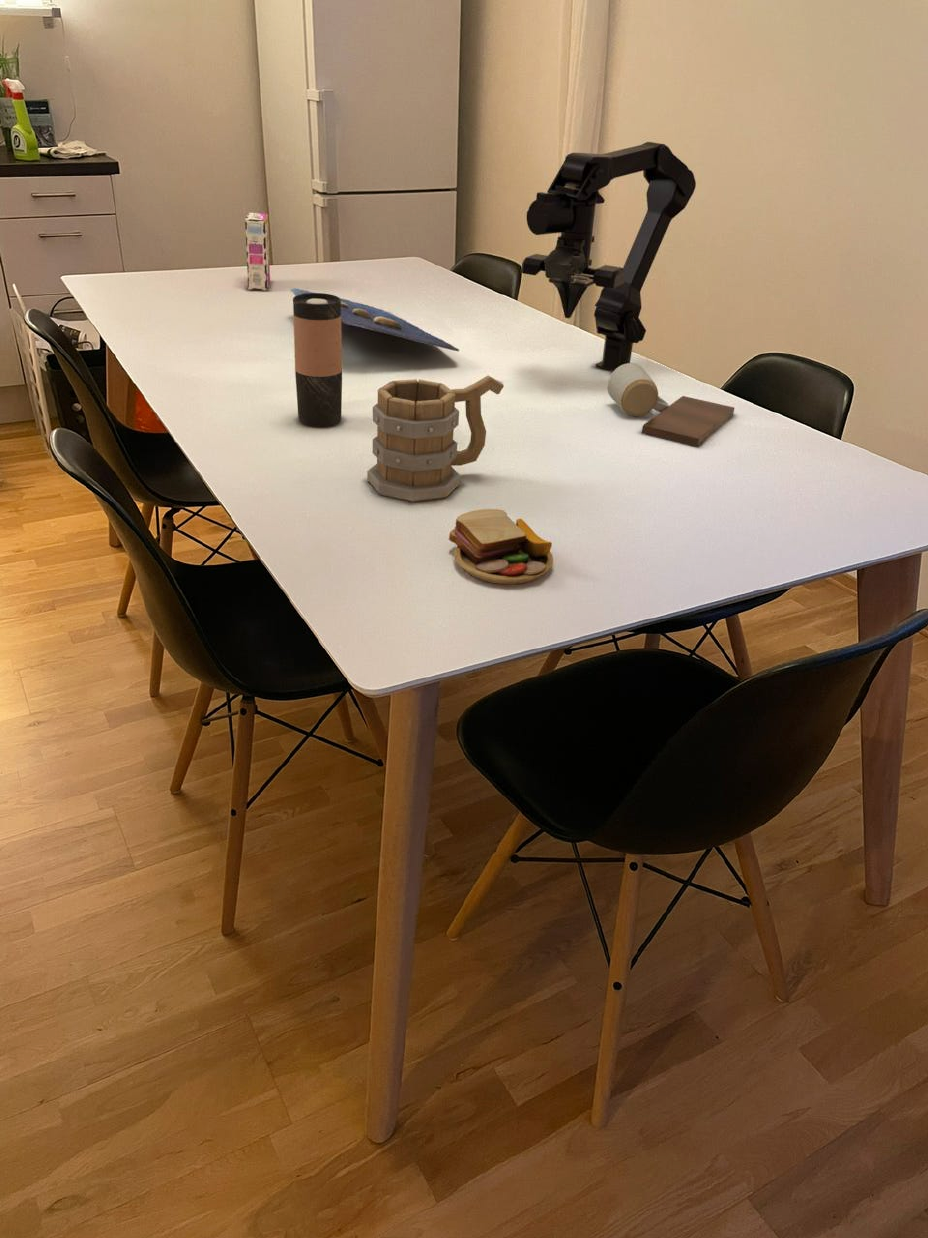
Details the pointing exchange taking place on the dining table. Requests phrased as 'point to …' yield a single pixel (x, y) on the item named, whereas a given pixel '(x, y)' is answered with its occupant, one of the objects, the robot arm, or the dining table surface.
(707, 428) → the walnut board
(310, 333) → the travel mug
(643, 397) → the ceramic mug
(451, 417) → the tankard
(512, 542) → the toy sandwich meal
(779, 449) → the dining table surface
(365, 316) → the serving platter
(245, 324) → the dining table surface
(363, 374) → the dining table surface
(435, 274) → the dining table surface
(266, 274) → the candy bar box
